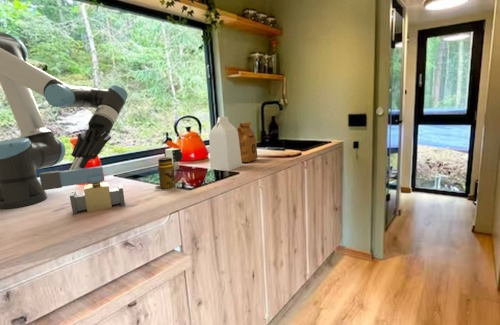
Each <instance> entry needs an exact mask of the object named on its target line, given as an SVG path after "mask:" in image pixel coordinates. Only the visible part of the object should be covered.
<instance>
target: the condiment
mask: <svg viewBox="0 0 500 325" xmlns="http://www.w3.org/2000/svg"><path fill="white" fill-rule="evenodd" d="M172 163H173V162H172V158H166V157H161V158H158V166H157V169H158V172H157V173H158V178H159V179H158V180H159V185H155V188H154V192H155V191H164V190H165V191H167V190H175V189H176V190H177V189H178V188H177V187H178V186H177V184H178V183H176V176H175V170H174V165H173V164H172Z"/></svg>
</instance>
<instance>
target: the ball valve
mask: <svg viewBox="0 0 500 325" xmlns="http://www.w3.org/2000/svg"><path fill="white" fill-rule="evenodd" d="M83 191H84V192H81V193H77V192H76V190H75V191H71V192H70V195H69V199H70V206H71V210H72V215H73V216H74V215H78V213H79V211H85V210H86V211H87V213H93V212H99V211H104V210H108V209H110V210H111V209H113V208H112V207H113V206H112V205H118V204H120V205H121V207H124V206H126V201H125V195H124V188H123V184H117V187H114V188H110V186H109V182H108V181H102V182H99V183H89V184H85V185H84V188H83Z"/></svg>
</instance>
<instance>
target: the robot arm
mask: <svg viewBox="0 0 500 325" xmlns="http://www.w3.org/2000/svg"><path fill="white" fill-rule="evenodd" d="M28 57H29V56H28V50H27V47H26V46H25V44H24V43H23V41H21V40H20V39H19V38H17V37H15V36H14V35H11V34H9V33H5V32H1V31H0V86H1V88H2V91H3V93H4V96H5V98H6V101H7V102H8V105H9V108H10V110H11V112H12V115H13V118H14V120H15V123H16V124H17V127H18V129H19V132H20V136H19V137H16V138H14V137H13V138H10V139H9V138H8V139H3V140H0V209H1V210H2V209H14V208H22V207H26V206H30V205H33V204H37V203H40V202H43V201H44V200H46V199H47V192H46V190H42V186H41V181H39V178H38V176H37V170H41V169H45V168H50V167H53V166H55V165H59V164H60V163H61V162H62V161H63V160H64V158H65V155H66V145H65V144H64V142H63V141H62V139H60V138H58V137H55V136H54V132H53V131H52V130H50V129H48V128H47V127H46V125H45V122H44V119H43V116H42V115H41V112H40V108H39V107H38V104H37V102H36V99H35V97H34V94H33V92H34V93H37V94H39V95H40V96H42V97H44V98H45V99H44V100H45V101H46V102H47V103H48V104H49V105H51V107H55V108H60V109H65V108H93V109H95V111H94V113H93V115H91V117H90V119H89V121H88V124H87V125H88V128H87V129H86V130H85V133H83V134H82V133H78V134H77V140H76V142H75V145H74V146H73V147H74V148H72V152H71V154H70V155H71V157H73V161H72V162H71V165H70V167H69V169H68V170H75V169H83V168H87V165H88V163H89V162H90V161H91V160H96V159H97V157H98V155H99V154H100V153H101V151H102V150H103V148H104V147H105V145H106V144H107V143H108V141H110V140H111V139H112V136H110V132H111V131H112V128H113V126H114V125H115V123H116V121H117V119H118V117H119V114H120V113H121V111H122V109H123V107H124V106H125V104H126V101H127V99H128V96H129V95H128V92H127V90H126V89H125V88H124V87H123V86H120V85H119V84H111V85H109V87H107V89H104V88H103V89H101V88H95V87H94V88H93V87H89V86H85V85H84V86H83V85H69V84H67V83H66V82H64V81H62V80H59V79H58V78H56V77H54V76H52V75H51V74H49V73H47V72H45V71H44V70H42V69H40V68H38V67H36V66H35V65H32V64H31V63H29V62H27V61H28V59H27V58H28ZM32 91H33V92H32Z"/></svg>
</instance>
